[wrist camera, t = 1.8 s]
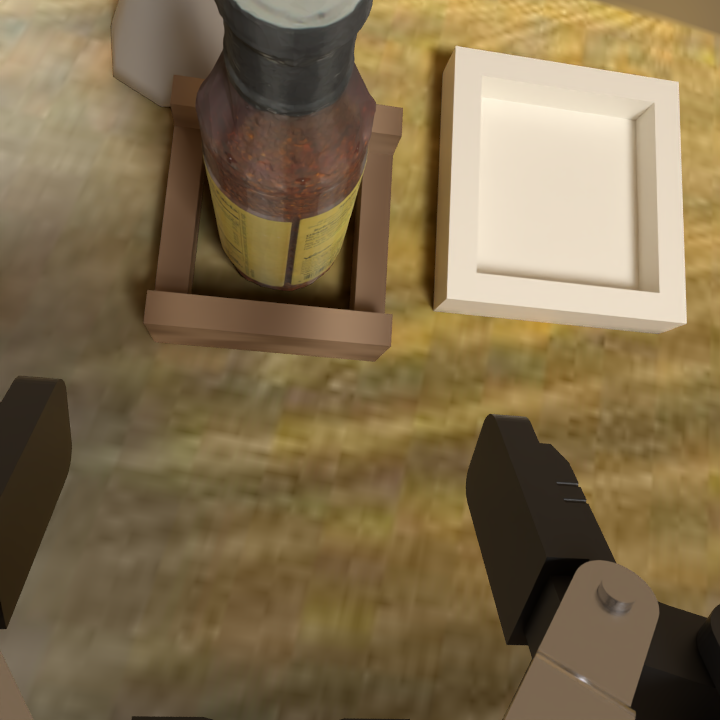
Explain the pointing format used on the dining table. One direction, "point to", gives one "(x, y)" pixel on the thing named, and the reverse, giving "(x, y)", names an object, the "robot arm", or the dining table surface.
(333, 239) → the sauce bottle
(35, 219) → the dining table surface
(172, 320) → the holder
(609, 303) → the tray
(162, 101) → the flask
